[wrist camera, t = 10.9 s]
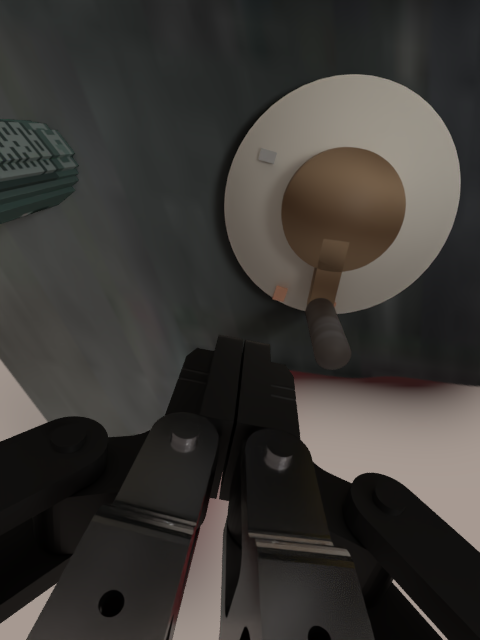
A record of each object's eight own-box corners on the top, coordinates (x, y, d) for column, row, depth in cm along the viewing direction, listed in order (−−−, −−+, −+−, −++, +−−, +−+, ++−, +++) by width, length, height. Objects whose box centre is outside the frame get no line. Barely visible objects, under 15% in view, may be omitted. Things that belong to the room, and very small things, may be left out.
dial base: (500, 119, 28) (512, 119, 27) (391, 330, 36) (396, 338, 34) (262, 42, 27) (262, 37, 25) (203, 277, 35) (201, 283, 33)
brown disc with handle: (292, 139, 28) (301, 140, 20) (415, 155, 28) (471, 163, 20) (264, 309, 34) (263, 360, 26) (365, 323, 34) (394, 378, 26)
